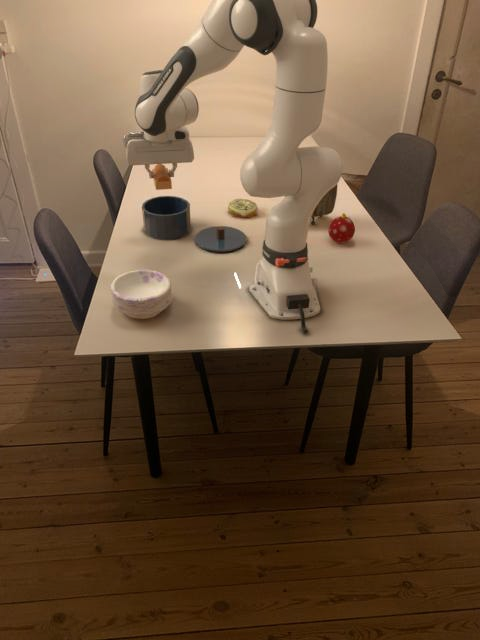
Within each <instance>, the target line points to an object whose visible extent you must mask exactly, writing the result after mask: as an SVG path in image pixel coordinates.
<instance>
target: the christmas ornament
mask: <svg viewBox="0 0 480 640" xmlns="http://www.w3.org/2000/svg"><path fill="white" fill-rule="evenodd" d="M327 229H328V231H327V232H328V236H329V237H330V238H331V240H332V241H334V242H335V243H338V244H344V243H347V242H349V241H350V240H352V238H353V237H354V235H355V233H356V226H355V223H354V221H353V220H352V219H351V218H350V217H348V216H347V214H346V213H345V212H344V213H342V215H340V216H337V217H335V218H333V219H332V220H331V222H330V223H329V224H328V227H327Z"/></svg>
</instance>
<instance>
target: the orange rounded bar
mask: <svg viewBox="0 0 480 640" xmlns="http://www.w3.org/2000/svg"><path fill="white" fill-rule="evenodd" d="M151 171H154V178H153V183H154V187H155V190H156V191H160V190H161V191H162V190H172V189H173V183H172V179H171V178H172V177H170V175H169V169H168V167H166V166H165V164H155V165H154V168H152V170H151Z"/></svg>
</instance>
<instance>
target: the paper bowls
mask: <svg viewBox="0 0 480 640" xmlns="http://www.w3.org/2000/svg"><path fill="white" fill-rule="evenodd" d="M110 292H111V293H110V295H111V301H112V304H113V306H114V308H115V309H116V310H118V311H119V312H120V313H123V314H125V315H127V316H128V317H130V318H132V319H137V320H145V319H151V318H153V317H155V316H157V315H158V314H160V313H161V312H162V311H165V310H166V309H167V308H168V307H169V306H170V304H171V303H172V299H173V297H172V296H173V295H172V283H171V280H170V279H169V277H168V276H167V275H166V274H164V273H163V272H160V271H157V270H152V269H135V270H129V271H126V272H124V273H121V274H119V275H117V276H116V277H115V278H114V279H113V281H112V282H111V284H110Z"/></svg>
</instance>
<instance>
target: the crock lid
mask: <svg viewBox="0 0 480 640" xmlns="http://www.w3.org/2000/svg"><path fill="white" fill-rule="evenodd" d="M194 242H195V244H196V245H197V246H198V247H200V248H202V249H204V250H205V251H210V252H214V253H215V252H216V253H225V252H227V253H228V252H233V251H236V250H239V249H240V248H242V247H243V246H245V245H246V242H247V235H246V234H245V233H244V232H243V230H240V229H239V228H235V227H232V226H228V225H227V226H226V225H225V226H224V225H215V226H209V227H205V228H203V229H201V230H199V231H198V232H197V233H196V234H195V236H194Z"/></svg>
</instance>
